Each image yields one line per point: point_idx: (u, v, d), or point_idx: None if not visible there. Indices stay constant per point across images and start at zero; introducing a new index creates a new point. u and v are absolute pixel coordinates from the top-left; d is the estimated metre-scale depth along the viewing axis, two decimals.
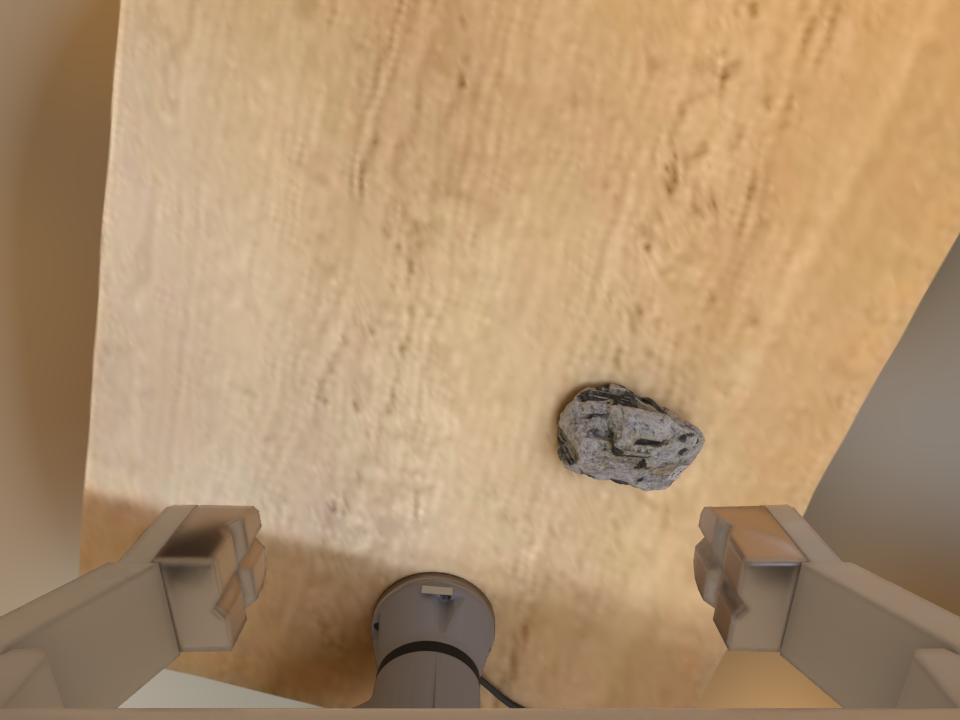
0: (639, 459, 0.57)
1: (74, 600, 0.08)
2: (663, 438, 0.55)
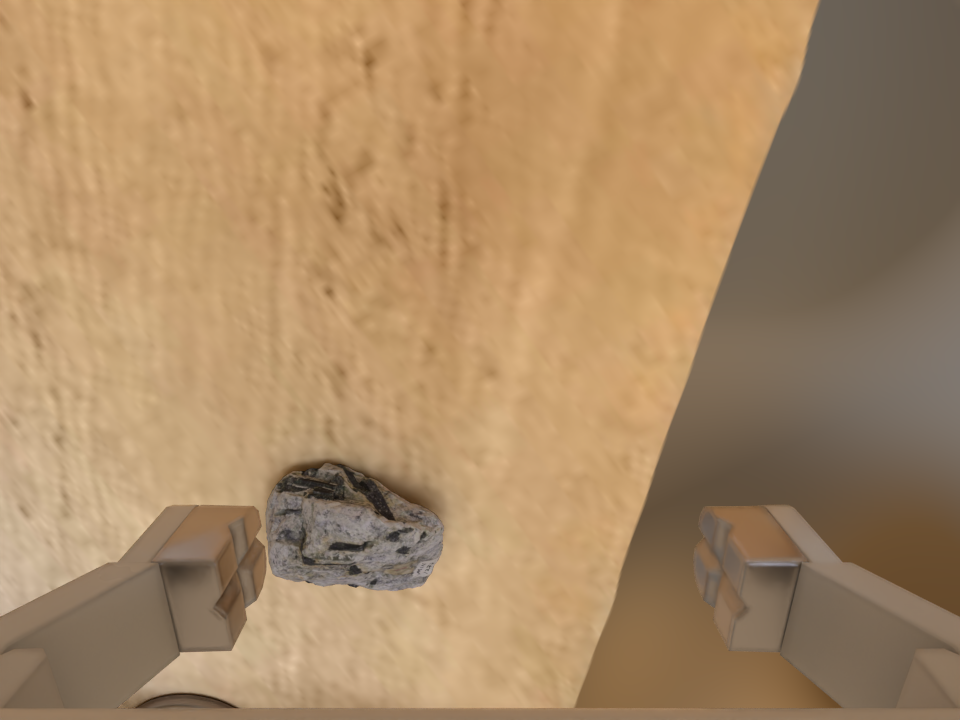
0: None
1: (74, 600, 0.08)
2: (364, 540, 0.42)
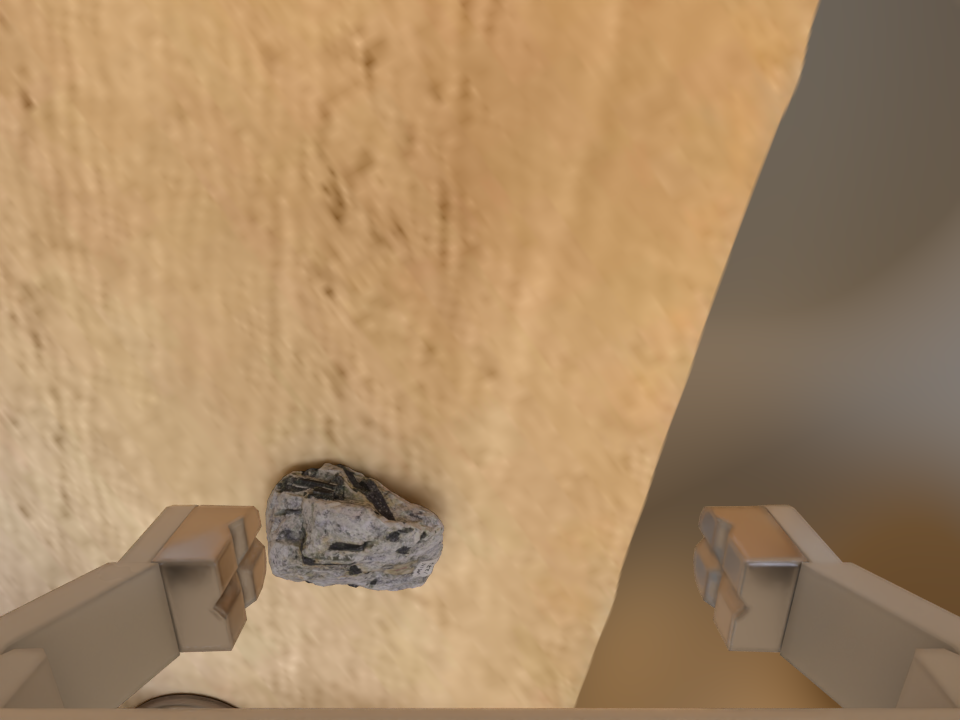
0: None
1: (74, 600, 0.08)
2: (364, 540, 0.42)
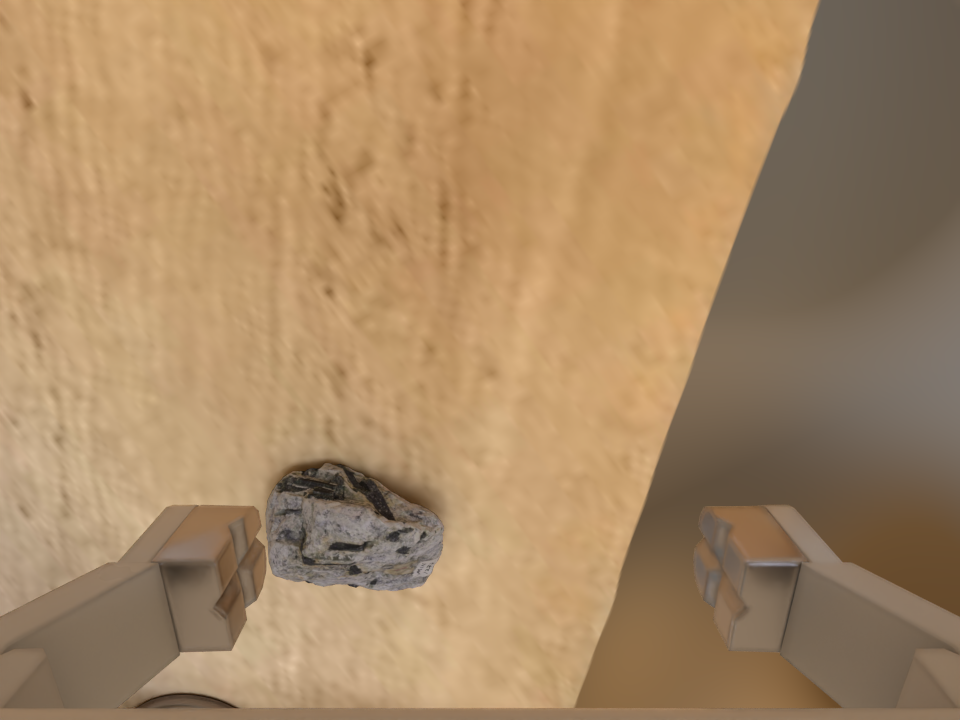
0: (349, 564, 0.44)
1: (74, 600, 0.08)
2: (364, 540, 0.42)
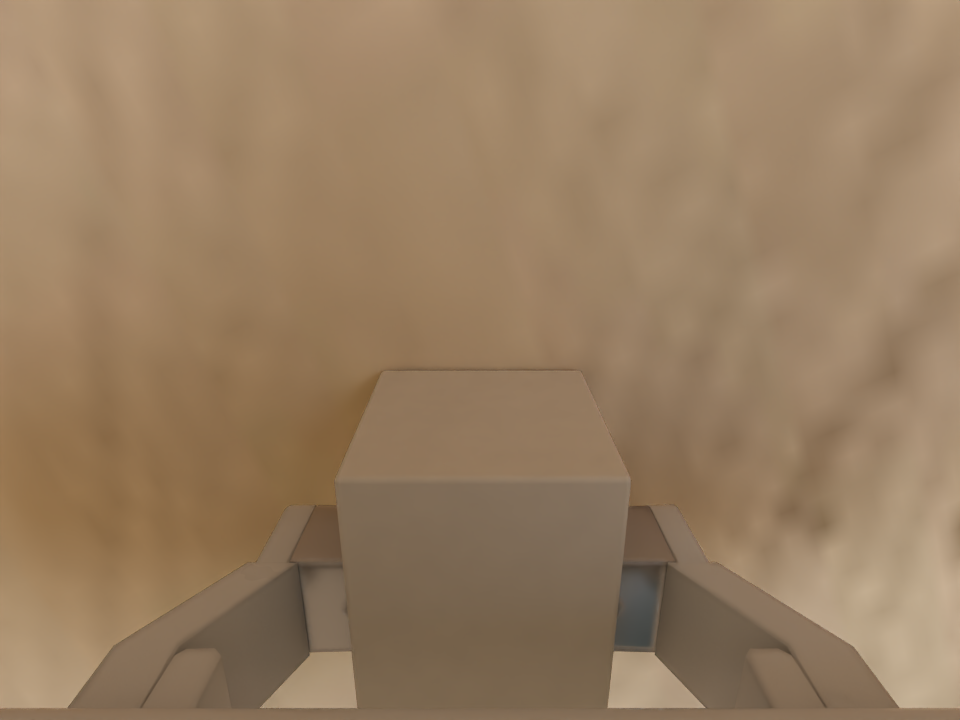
0: None
1: (228, 600, 0.08)
2: None
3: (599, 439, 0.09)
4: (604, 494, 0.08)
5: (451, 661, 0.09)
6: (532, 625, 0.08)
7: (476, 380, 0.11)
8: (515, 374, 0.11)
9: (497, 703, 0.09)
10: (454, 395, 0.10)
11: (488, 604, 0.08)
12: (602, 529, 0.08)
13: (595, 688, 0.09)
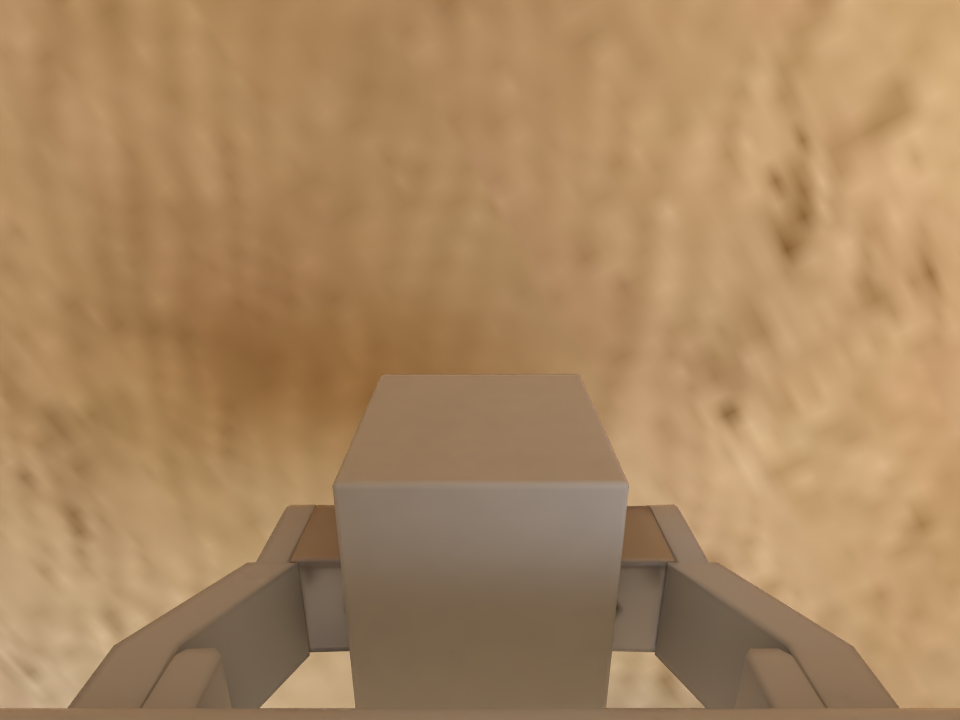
0: None
1: (227, 600, 0.08)
2: None
3: (597, 444, 0.09)
4: (602, 499, 0.08)
5: (449, 665, 0.09)
6: (530, 629, 0.08)
7: (475, 384, 0.11)
8: (514, 378, 0.11)
9: (495, 707, 0.09)
10: (453, 399, 0.10)
11: (487, 607, 0.08)
12: (600, 534, 0.08)
13: (593, 692, 0.09)
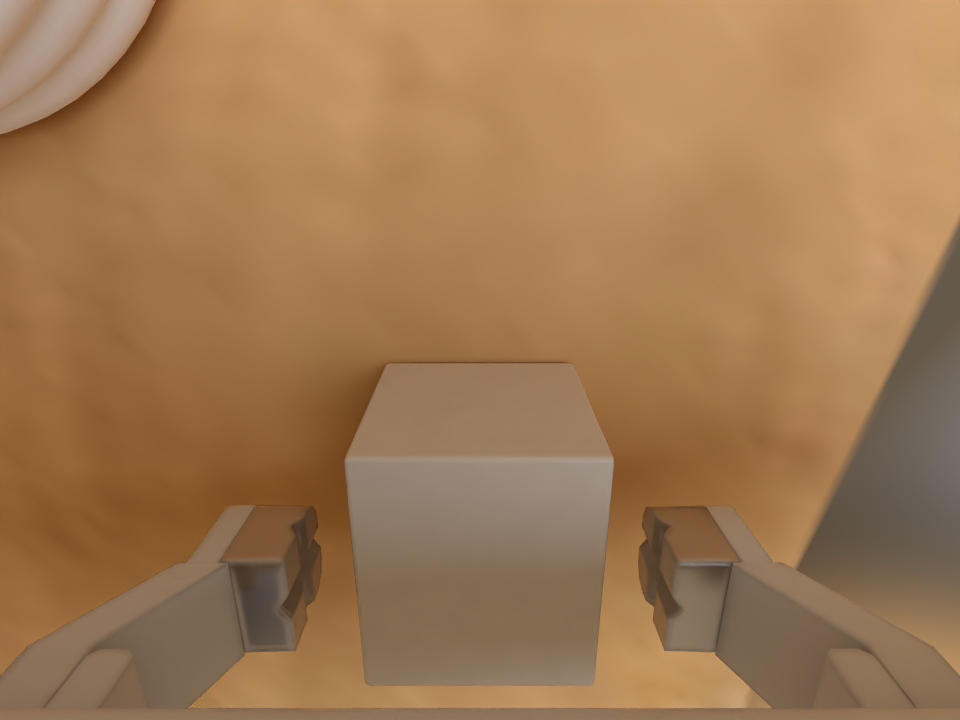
0: None
1: (150, 600, 0.08)
2: None
3: (586, 424, 0.09)
4: (589, 473, 0.08)
5: (450, 628, 0.09)
6: (524, 594, 0.09)
7: (475, 372, 0.12)
8: (511, 367, 0.12)
9: (493, 668, 0.10)
10: (453, 385, 0.11)
11: (485, 574, 0.09)
12: (588, 505, 0.09)
13: (583, 654, 0.10)
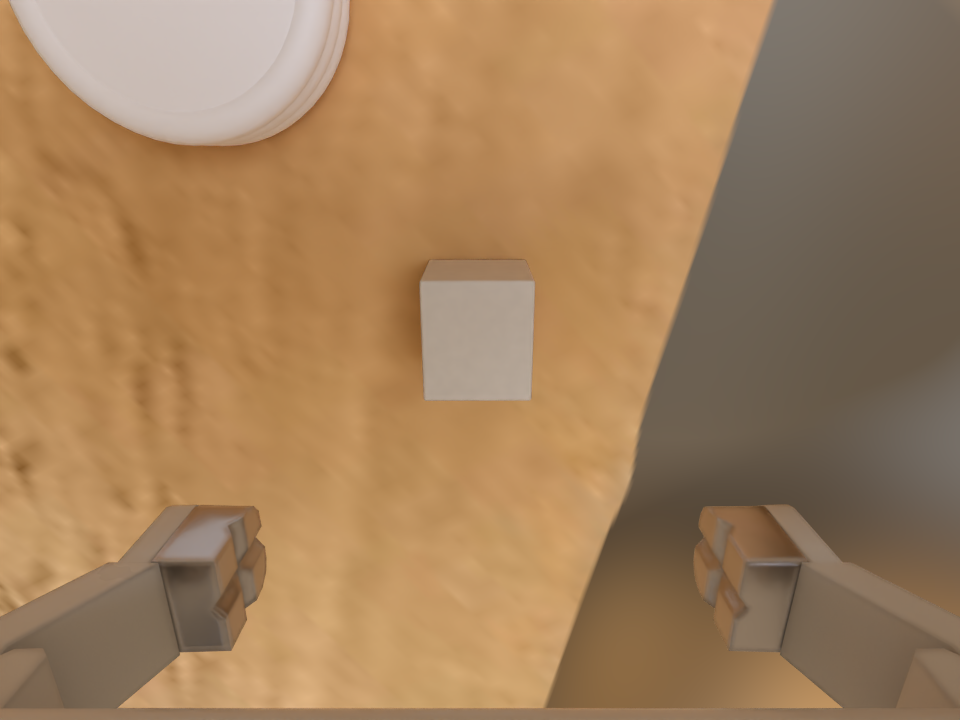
0: None
1: (74, 600, 0.08)
2: None
3: (526, 274, 0.21)
4: (524, 287, 0.20)
5: (464, 367, 0.21)
6: (497, 349, 0.20)
7: (475, 262, 0.23)
8: (493, 260, 0.23)
9: (483, 390, 0.21)
10: (464, 265, 0.22)
11: (479, 338, 0.20)
12: (524, 303, 0.20)
13: (525, 381, 0.21)
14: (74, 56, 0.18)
